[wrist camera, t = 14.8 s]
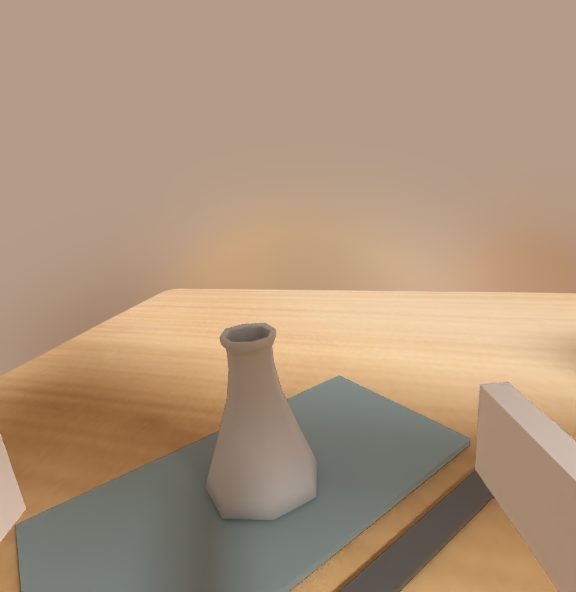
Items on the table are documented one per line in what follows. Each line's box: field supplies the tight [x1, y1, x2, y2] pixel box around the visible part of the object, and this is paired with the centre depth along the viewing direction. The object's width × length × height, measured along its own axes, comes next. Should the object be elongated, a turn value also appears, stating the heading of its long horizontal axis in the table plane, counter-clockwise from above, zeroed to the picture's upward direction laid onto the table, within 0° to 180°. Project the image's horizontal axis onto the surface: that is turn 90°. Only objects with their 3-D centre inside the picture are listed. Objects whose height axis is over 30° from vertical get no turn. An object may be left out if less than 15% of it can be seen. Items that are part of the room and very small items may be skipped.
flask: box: [205, 323, 318, 520], centre depth 24 cm, size 7×7×10 cm
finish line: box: [340, 470, 493, 592], centre depth 18 cm, size 30×2×1 cm, turn 127°
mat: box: [15, 376, 470, 592], centre depth 25 cm, size 26×13×1 cm, turn 127°
